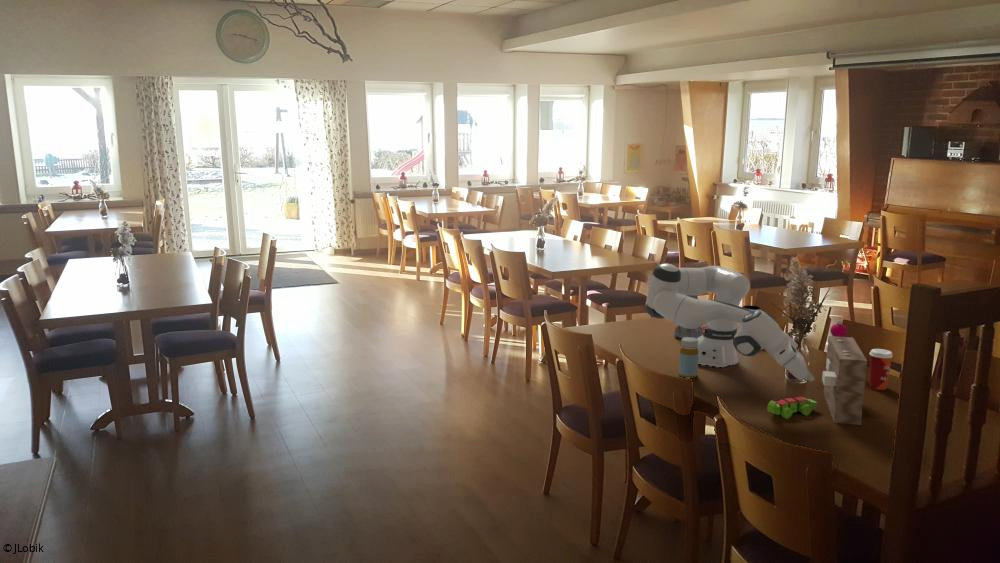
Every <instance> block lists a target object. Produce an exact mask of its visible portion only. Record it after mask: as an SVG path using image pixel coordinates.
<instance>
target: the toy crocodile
mask: <svg viewBox="0 0 1000 563" xmlns="http://www.w3.org/2000/svg"><path fill="white" fill-rule="evenodd" d="M818 405H819V403H818V401H815V400H813V399H810V398H809V399H808V398H806V397H804V396H797V397H789V398H784V399H780V400H778V401H775V400H772V399H771V400H770V401H769V402H768V403H767V407H766V408H767V409H766V410H767V412H769V413H772V414H774V415H777V416H779V415H780V416H781V417H782V418H783V419H787V420H788V419H791V417H792V416H793V413H798V412H799V413H801V414H802V415H804V416H805V417H806V416H809V415H811V413H812V411H813V409H816V408H817V407H818Z"/></svg>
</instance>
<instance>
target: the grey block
mask: <svg viewBox="0 0 1000 563" xmlns="http://www.w3.org/2000/svg"><path fill="white" fill-rule="evenodd" d="M826 360H827V363H826V364H825V369H826V368H827V371H829V372H830V360H829V359H826Z"/></svg>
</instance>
